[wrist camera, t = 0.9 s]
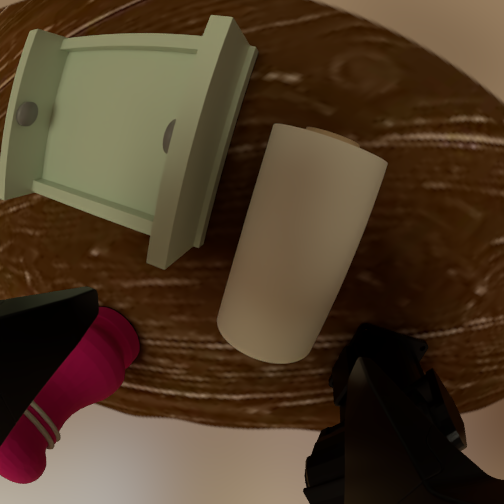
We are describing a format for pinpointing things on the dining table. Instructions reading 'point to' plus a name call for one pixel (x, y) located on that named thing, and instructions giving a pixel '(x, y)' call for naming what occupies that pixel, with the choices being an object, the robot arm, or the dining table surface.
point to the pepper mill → (70, 394)
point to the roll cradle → (128, 127)
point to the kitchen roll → (297, 241)
